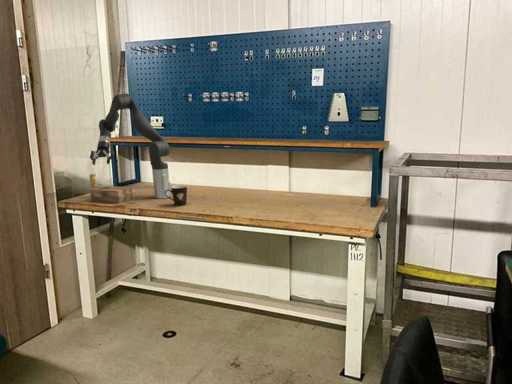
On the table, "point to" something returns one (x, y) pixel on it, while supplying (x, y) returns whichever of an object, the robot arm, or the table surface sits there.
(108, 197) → the brown rectangular block
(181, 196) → the coffee mug
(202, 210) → the table surface
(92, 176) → the wooden key
